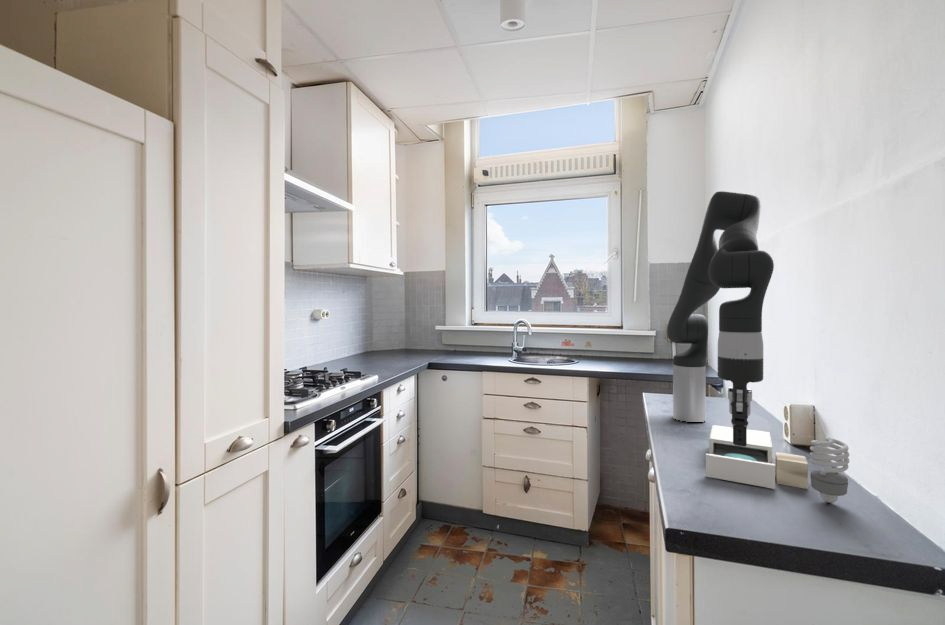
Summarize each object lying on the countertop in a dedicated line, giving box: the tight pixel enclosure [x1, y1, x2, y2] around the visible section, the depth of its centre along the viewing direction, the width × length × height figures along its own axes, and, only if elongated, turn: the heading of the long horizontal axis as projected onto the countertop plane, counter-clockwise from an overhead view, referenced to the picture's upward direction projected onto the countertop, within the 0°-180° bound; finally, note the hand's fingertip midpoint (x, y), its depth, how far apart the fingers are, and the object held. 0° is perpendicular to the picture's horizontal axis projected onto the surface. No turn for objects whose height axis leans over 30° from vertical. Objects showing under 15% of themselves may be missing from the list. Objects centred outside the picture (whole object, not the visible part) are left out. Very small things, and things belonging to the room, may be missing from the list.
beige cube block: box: [774, 451, 809, 490], centre depth 89 cm, size 5×5×5 cm
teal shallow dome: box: [724, 453, 757, 461], centre depth 92 cm, size 6×6×2 cm
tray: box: [705, 449, 776, 490], centre depth 94 cm, size 13×12×5 cm
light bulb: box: [809, 436, 850, 504], centre depth 79 cm, size 6×6×12 cm
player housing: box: [708, 424, 773, 464], centre depth 102 cm, size 13×12×6 cm
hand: (739, 444), depth 84 cm, fingers closed
